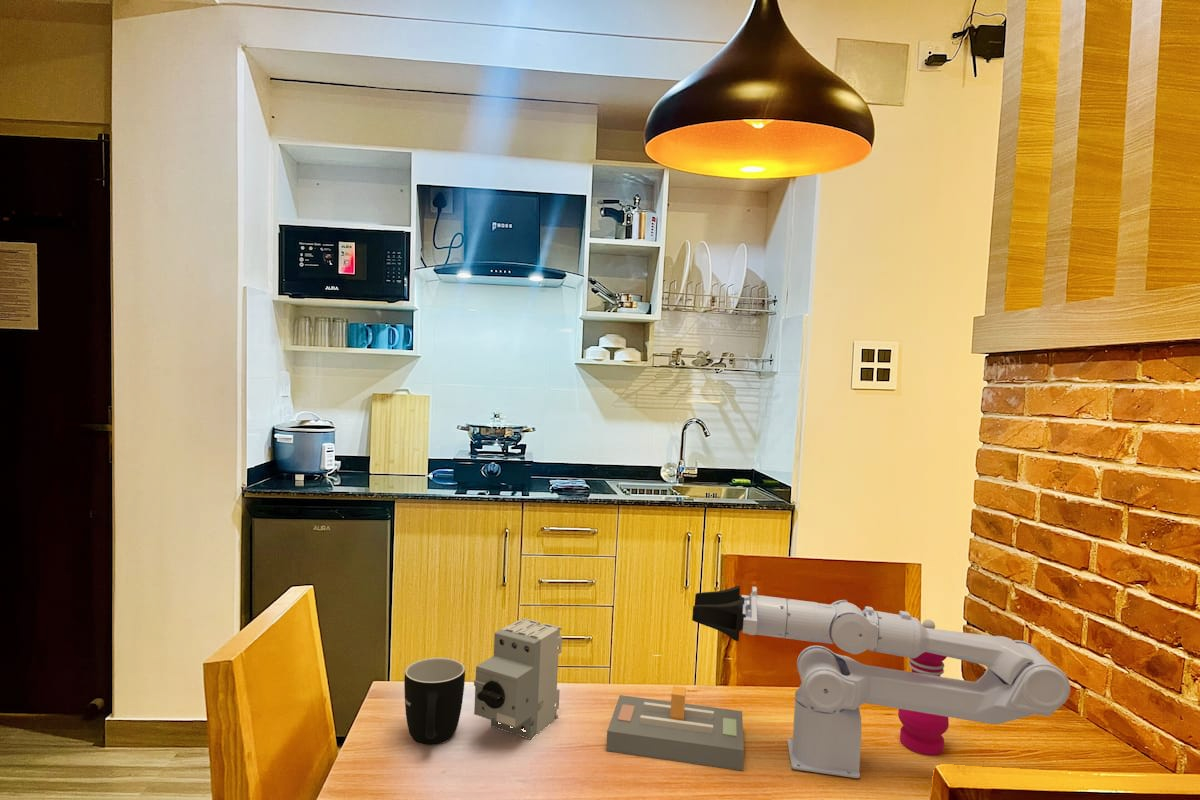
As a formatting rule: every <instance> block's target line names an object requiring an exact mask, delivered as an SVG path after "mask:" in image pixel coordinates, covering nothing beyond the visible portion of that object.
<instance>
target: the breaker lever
mask: <svg viewBox="0 0 1200 800" xmlns="http://www.w3.org/2000/svg"><path fill="white" fill-rule="evenodd" d="M686 689H687V688H686V687H683V686H675V685H673V686H672V689H671V698H670V699H671V700H670V702H671V715H670V719H674V720H681V721H684V714H685V704H686V693H687V692H686V691H687V690H686Z"/></svg>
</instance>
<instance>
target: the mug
mask: <svg viewBox="0 0 1200 800" xmlns="http://www.w3.org/2000/svg"><path fill="white" fill-rule="evenodd" d="M465 679H466V667H465V665H464V664H463V663H462V662H460V661H458V659H457V660H456V659H453V658H448V657H430V658H424V659H420V660H417V661H415V662H413V663H410V664H409V665H408V666H407V667H406V669H405V670H404V681H403V682H404V684H403V685H404V705H405V717H406V724H407V728H408V732H409V735H410V738H411V739H412V740H413V741H414V742H416V743H418V744H419V745H422V746H435V745H440V744H443V743H446V742H448V741H449V740H451V739H452V738H453V736H454V735H455V733H456V731H457V729H458V726H459V725H458V724H459V722H460V717H461V711H462V707H463V699H464V691H465V681H466V680H465ZM447 740H448V741H447Z"/></svg>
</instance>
